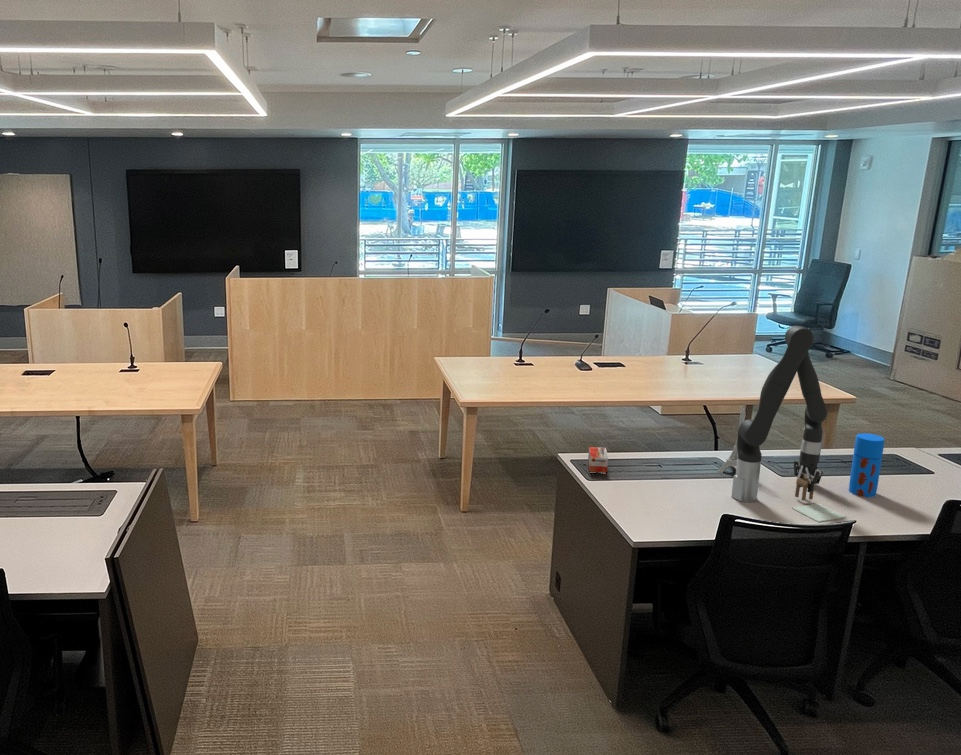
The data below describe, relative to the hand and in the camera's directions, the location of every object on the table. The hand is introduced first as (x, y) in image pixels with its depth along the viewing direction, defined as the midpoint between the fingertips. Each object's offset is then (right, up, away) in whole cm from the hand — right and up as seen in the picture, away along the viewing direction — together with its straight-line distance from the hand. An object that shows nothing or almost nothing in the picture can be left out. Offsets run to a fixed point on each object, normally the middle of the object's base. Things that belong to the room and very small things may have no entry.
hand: (804, 489), depth 314 cm
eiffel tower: (-17, +3, +33) cm, 38 cm away
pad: (+1, -8, -11) cm, 13 cm away
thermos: (+29, -3, +11) cm, 32 cm away
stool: (0, -4, +1) cm, 4 cm away
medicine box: (-81, +4, +34) cm, 88 cm away
